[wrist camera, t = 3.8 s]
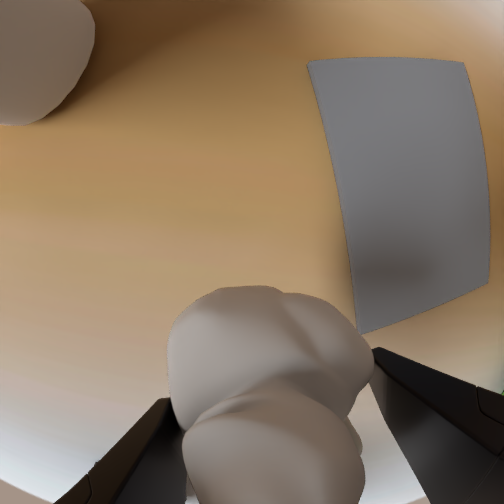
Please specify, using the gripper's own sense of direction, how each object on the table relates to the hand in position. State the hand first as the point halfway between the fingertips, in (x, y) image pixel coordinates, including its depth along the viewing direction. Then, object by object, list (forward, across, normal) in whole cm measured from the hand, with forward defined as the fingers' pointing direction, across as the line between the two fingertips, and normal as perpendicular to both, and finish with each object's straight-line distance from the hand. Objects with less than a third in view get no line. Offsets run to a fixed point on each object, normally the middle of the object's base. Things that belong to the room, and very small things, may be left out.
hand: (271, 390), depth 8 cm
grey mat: (+7, -10, -3) cm, 13 cm away
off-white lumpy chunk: (+2, 0, 0) cm, 2 cm away
